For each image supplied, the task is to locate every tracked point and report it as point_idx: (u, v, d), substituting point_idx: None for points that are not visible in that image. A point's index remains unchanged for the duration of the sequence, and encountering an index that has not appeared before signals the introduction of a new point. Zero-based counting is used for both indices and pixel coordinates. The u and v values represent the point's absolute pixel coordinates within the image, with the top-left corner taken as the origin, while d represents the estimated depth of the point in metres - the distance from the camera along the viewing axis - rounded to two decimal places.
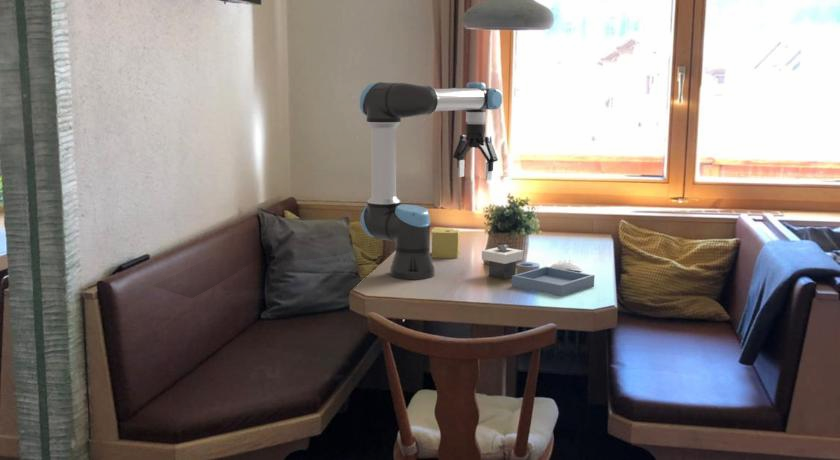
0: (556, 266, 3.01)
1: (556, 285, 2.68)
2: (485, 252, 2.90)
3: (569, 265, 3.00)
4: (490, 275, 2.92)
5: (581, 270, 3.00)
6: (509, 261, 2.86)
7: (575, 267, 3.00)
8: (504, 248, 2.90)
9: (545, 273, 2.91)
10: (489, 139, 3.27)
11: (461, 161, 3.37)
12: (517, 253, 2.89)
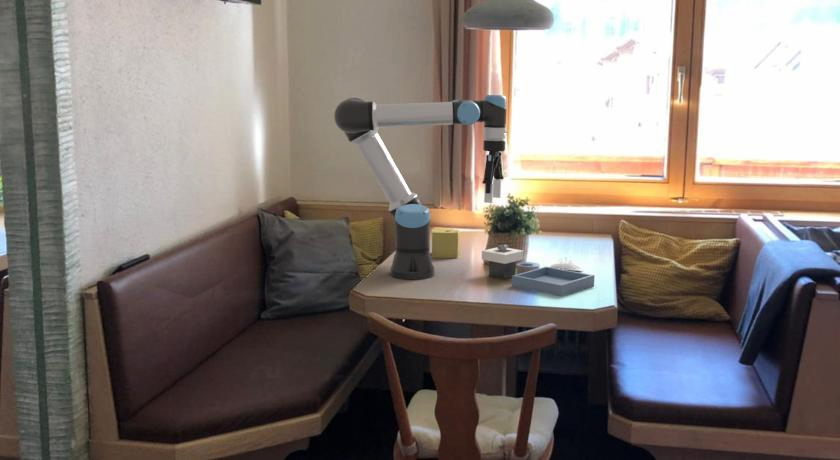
0: (557, 266, 3.01)
1: (556, 285, 2.68)
2: (485, 252, 2.90)
3: (569, 265, 3.00)
4: (490, 275, 2.92)
5: (582, 270, 3.00)
6: (509, 261, 2.86)
7: (576, 267, 3.00)
8: (504, 248, 2.90)
9: (545, 273, 2.91)
10: (489, 158, 2.95)
11: (495, 180, 3.09)
12: (517, 253, 2.89)
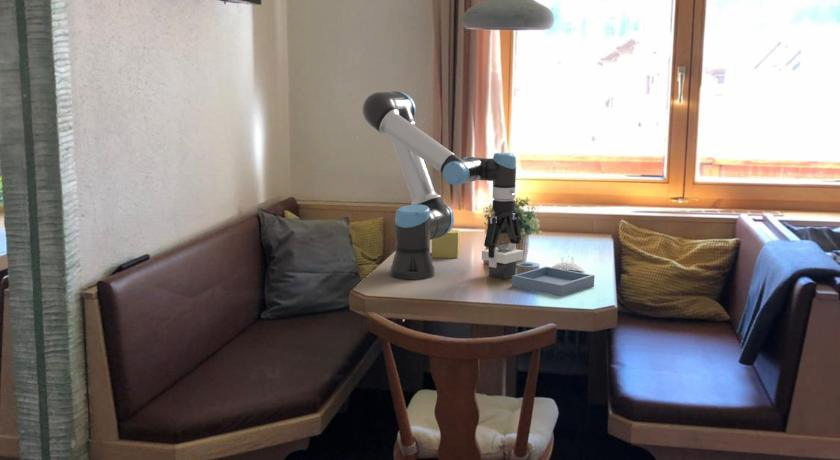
0: (558, 266, 3.01)
1: (556, 285, 2.68)
2: (485, 252, 2.90)
3: (571, 266, 3.00)
4: (490, 275, 2.92)
5: (583, 270, 3.00)
6: (509, 261, 2.86)
7: (577, 267, 3.00)
8: (504, 248, 2.90)
9: (545, 273, 2.91)
10: (491, 221, 2.84)
11: (510, 244, 2.95)
12: (517, 253, 2.89)
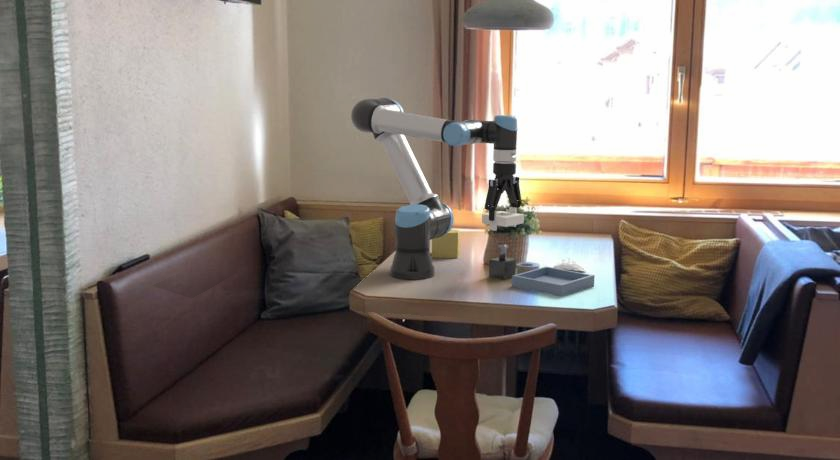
0: (560, 266, 3.01)
1: (556, 285, 2.68)
2: (485, 215, 2.88)
3: (573, 266, 3.00)
4: (490, 275, 2.92)
5: (585, 270, 3.00)
6: (509, 224, 2.84)
7: (579, 267, 3.00)
8: (504, 248, 2.90)
9: (545, 273, 2.91)
10: (491, 183, 2.82)
11: (511, 208, 2.93)
12: (518, 216, 2.87)
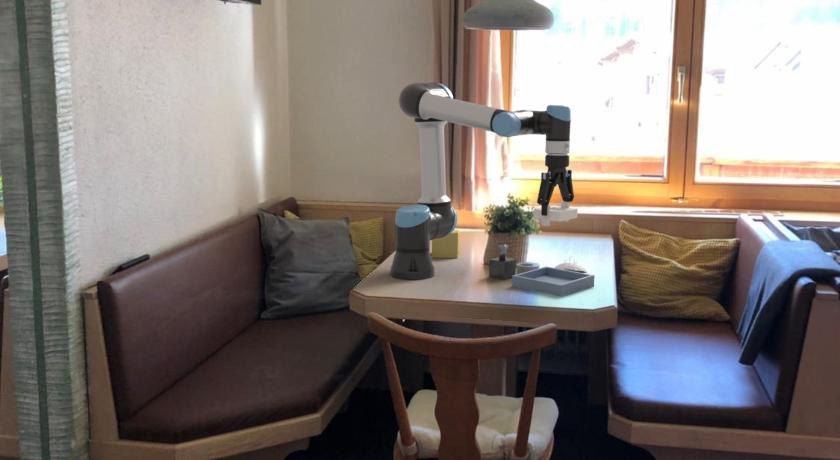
0: (561, 266, 3.00)
1: (556, 285, 2.68)
2: (537, 210, 2.74)
3: (574, 266, 3.00)
4: (490, 275, 2.92)
5: (586, 270, 3.00)
6: (563, 219, 2.71)
7: (580, 267, 3.00)
8: (504, 248, 2.90)
9: (545, 273, 2.91)
10: (544, 176, 2.69)
11: (563, 203, 2.79)
12: (571, 211, 2.73)
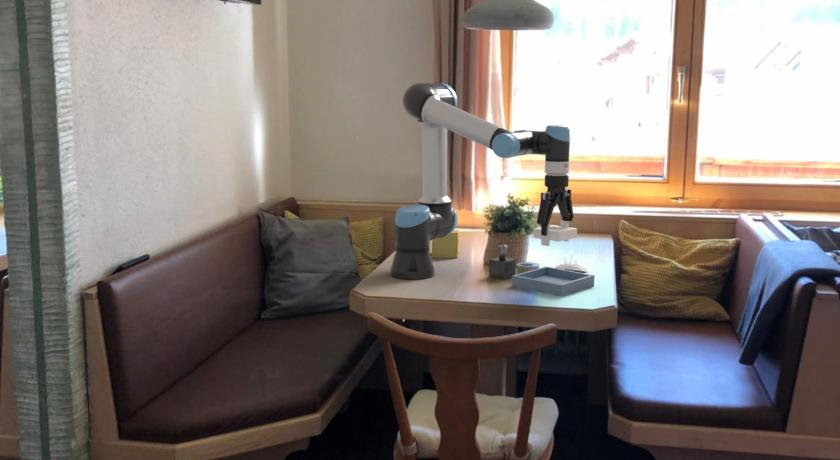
0: (562, 267, 3.00)
1: (556, 285, 2.68)
2: (537, 230, 2.75)
3: (574, 266, 2.99)
4: (490, 275, 2.92)
5: None
6: (563, 239, 2.72)
7: (581, 268, 2.99)
8: (504, 248, 2.90)
9: (545, 273, 2.91)
10: (544, 196, 2.70)
11: (562, 222, 2.80)
12: (571, 231, 2.75)
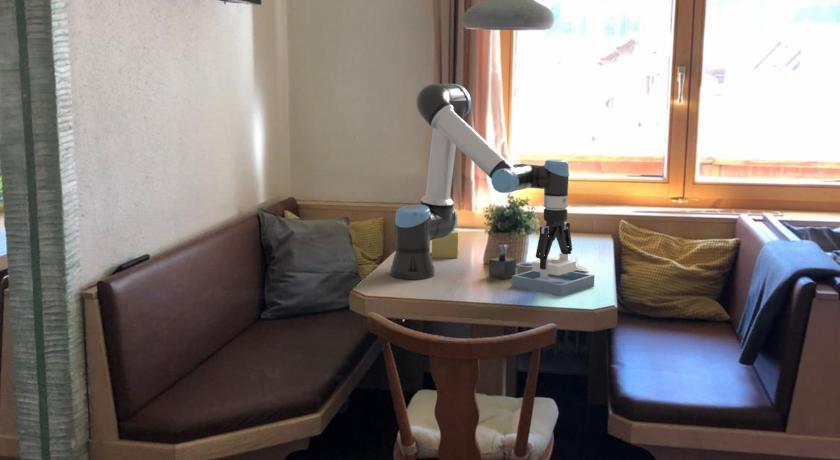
0: None
1: (556, 285, 2.68)
2: (536, 263, 2.77)
3: None
4: (490, 275, 2.92)
5: None
6: (562, 273, 2.74)
7: (582, 268, 2.99)
8: (504, 248, 2.90)
9: None
10: (542, 231, 2.72)
11: (561, 255, 2.82)
12: (569, 264, 2.76)
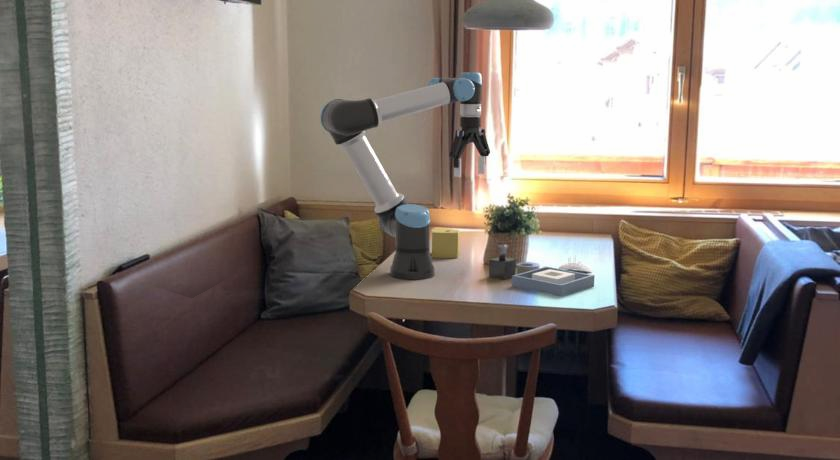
0: (566, 267, 3.00)
1: (556, 285, 2.68)
2: (535, 275, 2.78)
3: (578, 266, 2.99)
4: (490, 275, 2.92)
5: None
6: None
7: (585, 268, 2.99)
8: (504, 248, 2.90)
9: None
10: (458, 133, 3.03)
11: (480, 157, 3.15)
12: (569, 277, 2.77)
